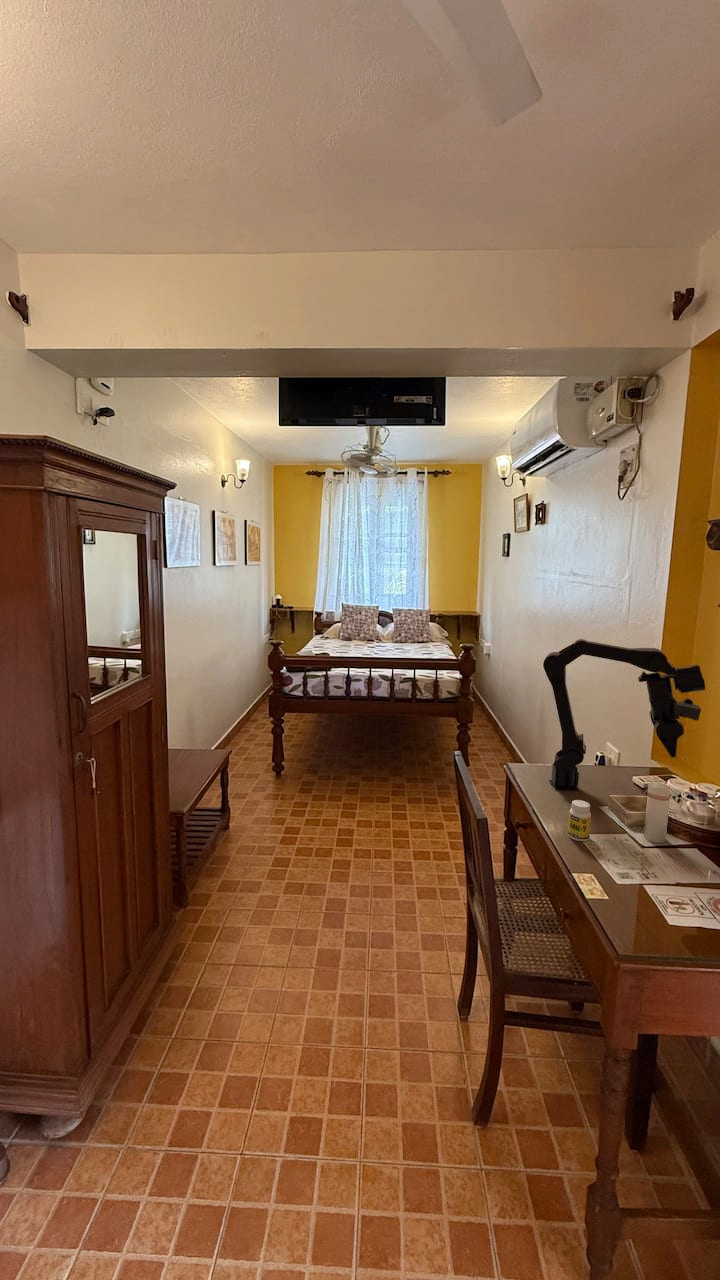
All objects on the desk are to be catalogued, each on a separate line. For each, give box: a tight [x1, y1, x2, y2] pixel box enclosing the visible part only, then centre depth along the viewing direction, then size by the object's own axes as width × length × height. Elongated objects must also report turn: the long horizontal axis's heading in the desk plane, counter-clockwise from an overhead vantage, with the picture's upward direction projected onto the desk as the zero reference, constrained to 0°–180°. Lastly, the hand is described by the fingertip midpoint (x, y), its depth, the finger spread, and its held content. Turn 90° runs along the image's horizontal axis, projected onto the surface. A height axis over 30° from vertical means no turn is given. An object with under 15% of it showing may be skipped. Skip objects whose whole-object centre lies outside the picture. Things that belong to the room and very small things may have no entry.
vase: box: [643, 781, 671, 844], centre depth 129 cm, size 5×5×13 cm
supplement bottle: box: [567, 799, 592, 842], centre depth 130 cm, size 5×5×8 cm
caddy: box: [607, 794, 668, 827], centre depth 141 cm, size 10×10×4 cm
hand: (671, 751), depth 148 cm, fingers open, 9 cm apart
